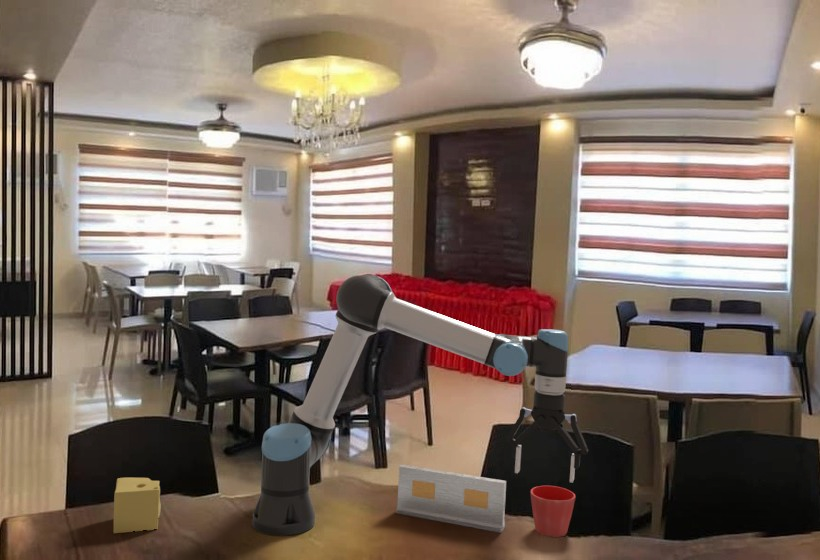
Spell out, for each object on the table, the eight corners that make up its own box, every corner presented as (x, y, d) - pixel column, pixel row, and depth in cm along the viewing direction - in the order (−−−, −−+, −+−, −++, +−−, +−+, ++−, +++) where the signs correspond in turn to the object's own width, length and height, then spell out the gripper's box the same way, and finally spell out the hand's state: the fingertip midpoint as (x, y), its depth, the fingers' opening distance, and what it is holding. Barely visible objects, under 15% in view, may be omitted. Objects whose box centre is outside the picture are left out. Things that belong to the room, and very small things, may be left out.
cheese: (160, 514, 170) (161, 474, 169) (159, 531, 159) (160, 489, 159) (115, 517, 166) (116, 477, 166) (110, 535, 156) (111, 492, 156)
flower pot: (574, 542, 163) (576, 502, 162) (528, 537, 165) (530, 497, 164) (572, 525, 173) (574, 487, 173) (529, 520, 175) (530, 483, 175)
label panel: (395, 513, 176) (397, 467, 176) (401, 507, 180) (403, 463, 180) (501, 532, 166) (503, 484, 166) (504, 527, 170) (507, 479, 170)
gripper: (497, 388, 170) (491, 471, 170) (599, 401, 161) (593, 489, 161) (503, 383, 177) (498, 464, 177) (602, 395, 168) (597, 480, 168)
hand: (544, 476), depth 169 cm, fingers open, 13 cm apart
